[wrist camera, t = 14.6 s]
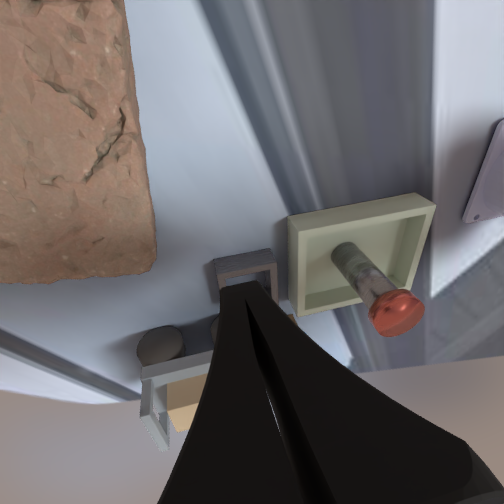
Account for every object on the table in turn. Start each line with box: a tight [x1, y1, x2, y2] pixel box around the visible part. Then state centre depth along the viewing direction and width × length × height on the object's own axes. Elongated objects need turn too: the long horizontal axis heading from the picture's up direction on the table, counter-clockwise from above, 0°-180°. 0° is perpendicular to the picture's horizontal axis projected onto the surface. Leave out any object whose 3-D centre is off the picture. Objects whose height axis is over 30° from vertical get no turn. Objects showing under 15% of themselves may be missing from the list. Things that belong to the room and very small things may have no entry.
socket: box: [214, 248, 279, 305], centre depth 22 cm, size 4×4×2 cm
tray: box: [287, 193, 436, 317], centre depth 23 cm, size 10×8×2 cm
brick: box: [0, 0, 157, 284], centre depth 12 cm, size 17×8×5 cm, turn 177°
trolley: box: [137, 316, 219, 452], centre depth 23 cm, size 9×5×7 cm, turn 95°
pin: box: [331, 242, 425, 337], centre depth 20 cm, size 3×3×7 cm
